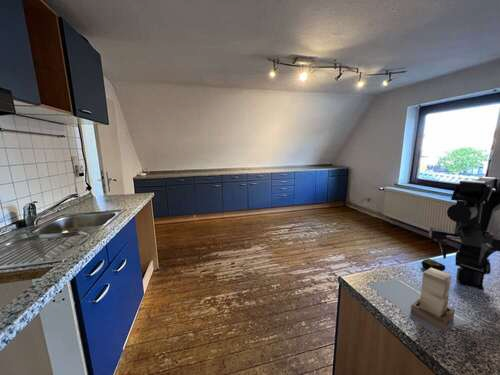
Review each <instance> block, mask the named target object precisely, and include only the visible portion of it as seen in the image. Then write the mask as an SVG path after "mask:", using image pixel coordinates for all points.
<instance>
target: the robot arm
mask: <svg viewBox="0 0 500 375" xmlns="http://www.w3.org/2000/svg"><path fill="white" fill-rule="evenodd" d="M450 200H451V201H456V203H455V204H452V205H450V206H449V207H448V208H447V209H446V211H447V212H446V215H447V217H448V218H449V219H450V220H451V221H453V222H455V225H454V230H453V232H448V231H446V230H445V229H444V228H440V227H432V226H431V227H430V228H429V230H428V235H429V237H430V239H432V240H434V242H437V243H438V244H439V247H440V250H441V254H442V256H443V259H444V260H445V259H446V258H447V240H446V239H447V238H448V239H454V240H460V243H461V244H460V247H459V250H457V251H456V253H455V266H458V267H457V268H456V275H455V276H456V280H457V281H458V282H459V284H460V285H461V286H467V287H471V288H475V289H480V290H485V287H484V286H483V285H484V284H483V283H484V278H485V275H491V270H492V269H491V268H492V267H491V266H492V264H491V263H490V259H489V257H490V256H491V255H492V254H494V253H495V252H500V236H498V235H494V233H493V231H492V232H491V231H490V228H491V225H492V221H493V219H494V215H495V212H497V211H499V210H500V177H499V178H498V177H494V176H493V177H492V176H480V177H479V178H477V179H475V180H470V179H468V180H467V179H461V180H460V181H459V182H457V183H456V186H455V188H454V190H453V192H452V195H451V198H450Z"/></svg>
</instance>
